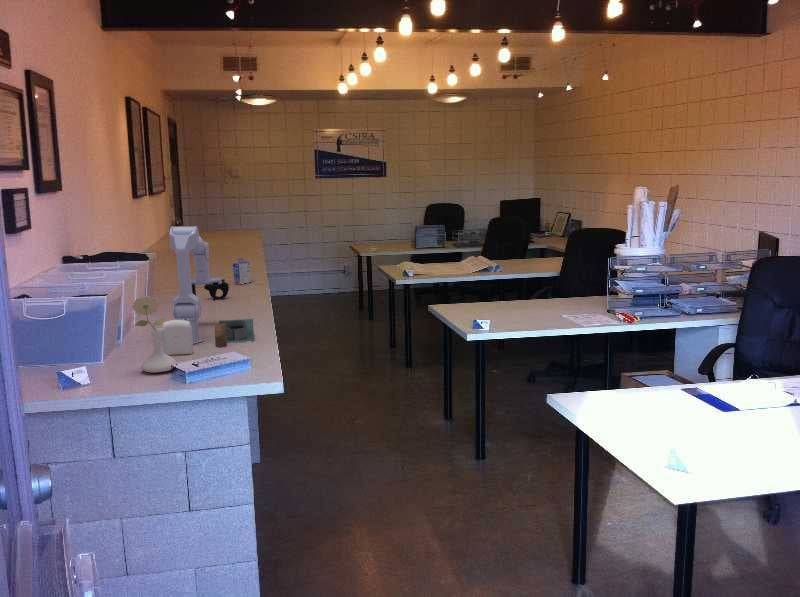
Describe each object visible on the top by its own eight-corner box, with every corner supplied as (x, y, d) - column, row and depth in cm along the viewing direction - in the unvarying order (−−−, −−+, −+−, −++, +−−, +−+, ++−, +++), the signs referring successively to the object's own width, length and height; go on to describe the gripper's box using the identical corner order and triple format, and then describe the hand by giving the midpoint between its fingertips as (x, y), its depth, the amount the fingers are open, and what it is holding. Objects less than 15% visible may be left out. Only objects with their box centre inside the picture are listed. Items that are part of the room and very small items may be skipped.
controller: (229, 299, 369) (228, 280, 367) (204, 300, 367) (203, 281, 365) (229, 298, 373) (228, 278, 371) (205, 299, 371) (203, 279, 369)
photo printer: (162, 355, 259) (160, 321, 257) (165, 352, 263) (162, 319, 261) (192, 354, 260) (190, 320, 257) (194, 351, 264) (192, 318, 262)
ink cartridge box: (245, 282, 426) (244, 257, 423) (252, 282, 423) (251, 257, 421) (233, 284, 418) (232, 259, 415) (240, 285, 415) (239, 259, 412)
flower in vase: (181, 365, 246) (176, 292, 241) (172, 375, 234) (167, 298, 230) (142, 366, 245) (136, 293, 241) (131, 375, 234) (125, 299, 229)
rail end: (221, 347, 270) (219, 326, 268) (213, 346, 272) (212, 325, 270) (228, 345, 273) (227, 324, 272) (221, 344, 275) (220, 323, 274)
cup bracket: (254, 341, 279) (254, 324, 277) (219, 343, 276) (218, 326, 275) (253, 335, 289) (252, 318, 287) (219, 337, 286) (218, 320, 284)
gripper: (220, 266, 307) (223, 296, 311) (185, 267, 305) (188, 298, 309) (219, 270, 300) (222, 301, 305) (183, 272, 298) (186, 303, 303)
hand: (205, 300), depth 307 cm, fingers open, 7 cm apart
